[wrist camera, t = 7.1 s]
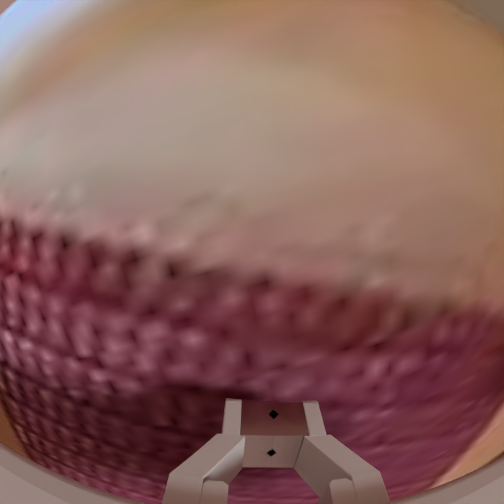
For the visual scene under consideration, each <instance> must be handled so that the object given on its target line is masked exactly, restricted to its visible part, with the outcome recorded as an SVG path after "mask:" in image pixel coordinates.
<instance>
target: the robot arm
mask: <svg viewBox="0 0 504 504" xmlns="http://www.w3.org/2000/svg"><path fill="white" fill-rule="evenodd" d="M242 467H282V468H291V467H294V469H295V470H296V472H297V473H298V474H299V475H300V476H301V477H302V478H303V480H304V481H305V482H306V483H307V484H308V485H309V486H310V488H311V489H312V490H313V491H314V492H315V493H316V494H317V495H318V496H319V497H320V498H321V499H320V500H319V502H318V503H317V504H504V455H503V456H502V457H500V458H498V459H496V460H494V461H493V462H491V463H489V464H487V465H485V466H483V467H481V468H479V469H477V470H475V471H473V472H471V473H468V474H466V475H464V476H462V477H459V478H457V479H455V480H452V481H450V482H448V483H445V484H442V485H440V486H437V487H435V488H432V489H429V490H426V491H423V492H420V493H417V494H414V495H411V496H408V497H404V498H401V499H397V500H393V501H390V499H389V496H388V493H387V491H386V488H385V485H384V482H383V479H382V477H381V474H380V472H379V471H378V470H377V469H375V468H374V467H372V466H371V465H370V464H368V463H367V462H366V461H364V460H363V459H362V458H360V457H359V456H358V455H356V454H355V453H354V452H352V451H351V450H350V449H348V448H347V447H346V446H344V445H343V444H342V443H341V442H339V441H338V440H337V439H336V438H334V437H333V436H332V435H326V431H325V427H324V424H323V420H322V416H321V412H320V408H319V405H318V402H317V401H258V400H244V399H242V400H240V399H230V398H226V401H225V409H224V418H223V426H222V434H216V435H215V436H214V437H213V438H211V439H210V440H209V441H208V442H207V443H206V444H205V445H203V446H202V447H201V448H200V449H199V450H198V451H196V452H195V453H194V454H193V455H192V456H190V457H189V458H188V459H187V460H186V461H184V462H183V463H182V464H181V465H179V466H178V467H177V468H176V469H174V470H173V471H172V472H171V473H170V474H169V478H168V482H167V486H166V490H165V494H164V498H163V502H162V504H228V485H229V484H230V483H231V481H232V480H233V479H234V478H235V477H236V475H237V474H238V473H239V472H240V471H241V469H242ZM0 504H146V503H142V502H138V501H134V500H131V499H127V498H124V497H120V496H117V495H114V494H110V493H107V492H104V491H101V490H98V489H96V488H93V487H90V486H87V485H85V484H82V483H80V482H77V481H75V480H72V479H70V478H67V477H65V476H63V475H60V474H58V473H56V472H54V471H52V470H50V469H48V468H45V467H43V466H41V465H39V464H37V463H36V462H34V461H32V460H30V459H28V458H26V457H24V456H23V455H21V454H19V453H17V452H16V451H14V450H12V449H10V448H9V447H7V446H6V445H4V444H2V443H1V442H0Z"/></svg>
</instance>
